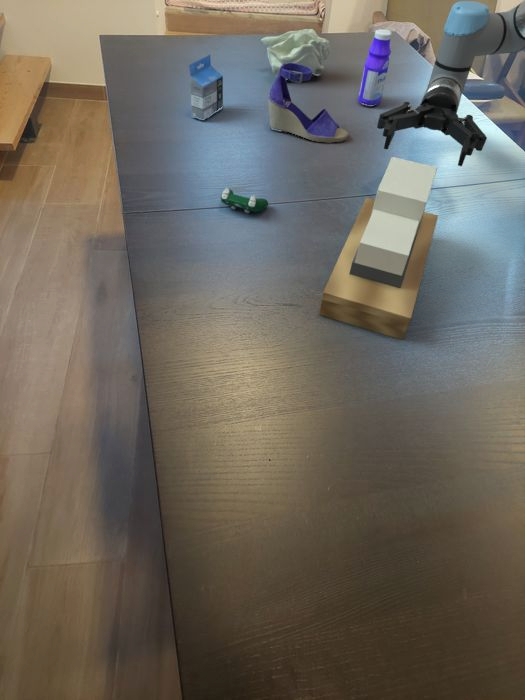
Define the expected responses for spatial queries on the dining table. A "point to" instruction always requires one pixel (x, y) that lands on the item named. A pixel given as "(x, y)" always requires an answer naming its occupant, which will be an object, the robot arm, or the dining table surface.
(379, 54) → the bottle
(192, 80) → the ink cartridge box
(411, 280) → the wooden base slab
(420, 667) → the dining table surface
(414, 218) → the white two-tier block
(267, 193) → the dining table surface
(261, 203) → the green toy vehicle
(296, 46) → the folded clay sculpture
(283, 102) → the sandal
